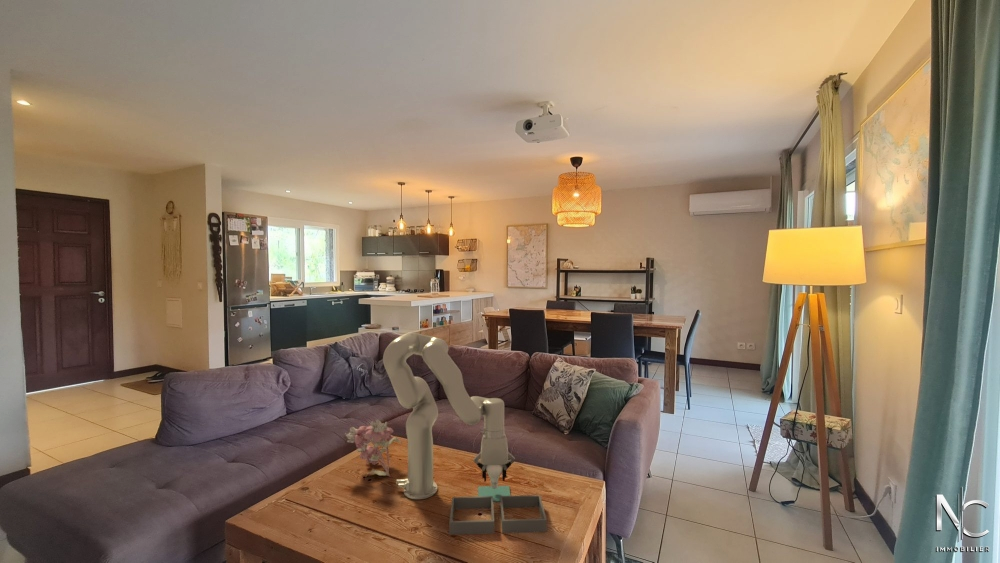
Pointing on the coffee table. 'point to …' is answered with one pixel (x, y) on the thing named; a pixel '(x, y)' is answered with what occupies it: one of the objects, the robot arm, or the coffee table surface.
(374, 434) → the flower
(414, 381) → the robot arm
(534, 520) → the box
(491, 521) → the box
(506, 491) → the mat
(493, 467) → the lightbulb
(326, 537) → the coffee table surface
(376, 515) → the coffee table surface
